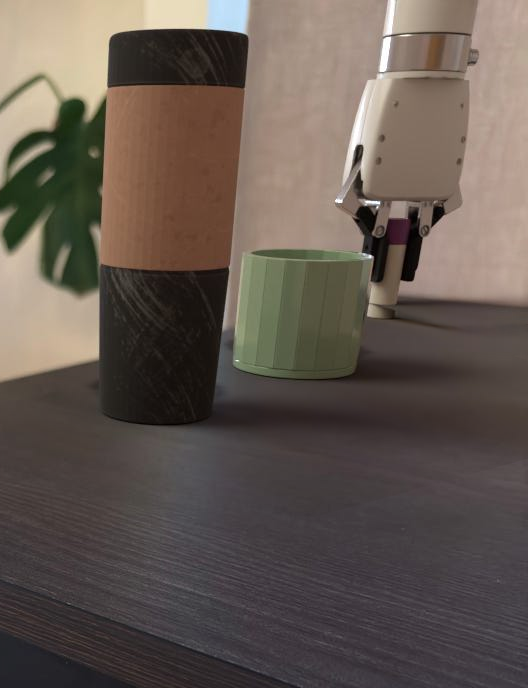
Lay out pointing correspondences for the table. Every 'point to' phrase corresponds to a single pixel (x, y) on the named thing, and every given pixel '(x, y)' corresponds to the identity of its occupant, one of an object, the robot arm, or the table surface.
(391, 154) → the robot arm
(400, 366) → the table surface
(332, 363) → the cup
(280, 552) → the table surface
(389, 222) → the glue stick
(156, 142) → the travel mug
